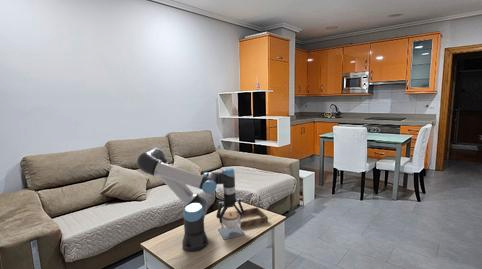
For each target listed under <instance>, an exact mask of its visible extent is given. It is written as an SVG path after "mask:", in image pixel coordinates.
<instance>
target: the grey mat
mask: <svg viewBox="0 0 482 269" xmlns="http://www.w3.org/2000/svg"><path fill="white" fill-rule="evenodd" d="M217 231H218V233H219V234H220V237H222V239H223V240H224V241H225V240H230V239H234V238H238V237H244V236H246V234H245V232H244V231H243V229H242V228H240V225H239V224H237V226H236V227H235V228H233V229H228V228H227V227H226V226H225V227H224V228H222V227H221V228H217Z"/></svg>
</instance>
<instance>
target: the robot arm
mask: <svg viewBox="0 0 482 269" xmlns="http://www.w3.org/2000/svg"><path fill="white" fill-rule="evenodd" d="M136 166H137V167H138V169H139V170H140V171H141V172H142V173H145V174H147V175H150V176H153V177H157V176H158V178H160V179H161V180H162V182H164V184H165V185H166V186H167V187H168V188H169V189H170V190H171V191H172V193H174V194H175V196H176V197H177V198H178V199H179V201H181V202H182V207H183V210H182V211H183V212H182V217H183V230H184V235H183V238H182V243H181V244H182V245H181V246H182V249H184V250H185V251H187V252H191V253H192V252H199V251H203V249H205V248H207V247H208V245H209V238H208V235H207V233H206V231H205V218H206V215H207V212H208V208H209V205H208V204H209V203H208V201H207V199H206V198H205V197H204V196H200V195H199V194H198V193H197V192H195V193H194V192H193V191H192V190H191V189H190V187H193V188H196V189H200V190H202V191H203V193H205V194H207V195H212V194H213V193H214V192H215V191H216V189H217V186H218V185H222V188H223V189H222V191H223V201H219V202H218V209H217V212H216V218H217V219H219V224H220V225H221V228H225V227H224V226H225V225H224V223H223V218H222V217H223V215H224V213H226V212H227V209H228V208H233V207H234V208H235V211H238V212H239V222H238V226H240V225H241V220H242V218H243V216H242V213H244V210H245V209H244V207H243V205H242V201H241V199H240V198H239V197H238V198H236V196H237V195H236V177H235V170H234V168H233V167H225V168H222V171H216V172H215V171H213V172H212V171H209V172H204V173H203V174H202V175H201V174H198V173H195V172H193V171H190V170H187V169H184V168H181V167H177V166H174V165H171V164H169V160H167V158H166V155H165V152H164V151H163V150H162V149H160V148H158V147H153V148H149V149H147V150H146V151H144V152H142V153H141V154H139V155H138V157H137V160H136ZM188 186H190V187H188ZM236 203H238V204H237V205H238V206H237V205H236ZM238 207H239V208H238Z"/></svg>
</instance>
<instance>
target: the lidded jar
mask: <svg viewBox="0 0 482 269" xmlns="http://www.w3.org/2000/svg"><path fill="white" fill-rule="evenodd" d="M222 218H223V224H224V226H225V227H227V228H228V229H233V228H235V227H236V226H237V225H239V223H238V222H239V214H238V213H237V212H236V211H225V213H224V215H223V217H222Z"/></svg>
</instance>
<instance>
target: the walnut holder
mask: <svg viewBox="0 0 482 269" xmlns="http://www.w3.org/2000/svg"><path fill="white" fill-rule="evenodd" d="M243 210H244V213H242V217H245V216H250V215H251V216H252V215H255V214H257V215H258V216H259V217H257V218H251V219H248V220H242V221H241V225H239V227H240V228H241V229H244V228H248V227H253V226H257V225H263V224H267V223H269V222H268V221H269V217H268V215H266V214H265V213H264V211H262V210H261V209H260V208H259V207H252V208H247V209H243ZM235 212H237V213H238V214H239V212H238V211H237V210H235Z"/></svg>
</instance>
